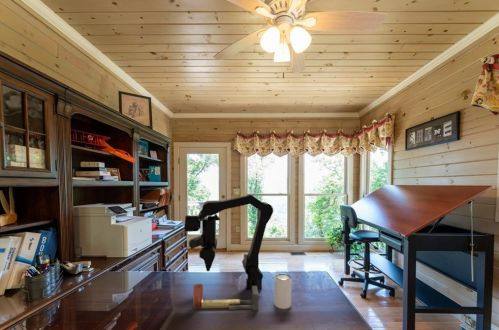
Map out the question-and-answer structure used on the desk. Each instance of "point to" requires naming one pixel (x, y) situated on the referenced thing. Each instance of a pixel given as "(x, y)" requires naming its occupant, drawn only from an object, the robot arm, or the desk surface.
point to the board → (248, 301)
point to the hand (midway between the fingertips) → (208, 266)
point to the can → (282, 291)
